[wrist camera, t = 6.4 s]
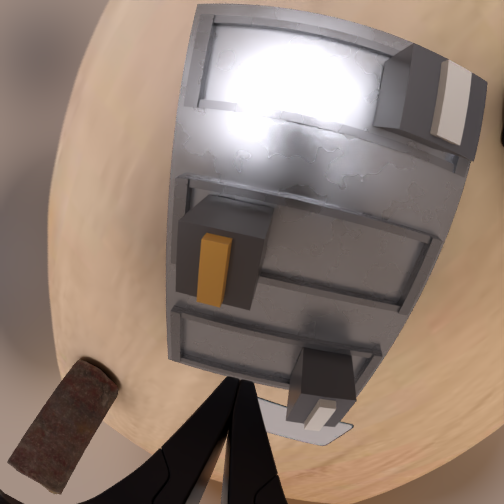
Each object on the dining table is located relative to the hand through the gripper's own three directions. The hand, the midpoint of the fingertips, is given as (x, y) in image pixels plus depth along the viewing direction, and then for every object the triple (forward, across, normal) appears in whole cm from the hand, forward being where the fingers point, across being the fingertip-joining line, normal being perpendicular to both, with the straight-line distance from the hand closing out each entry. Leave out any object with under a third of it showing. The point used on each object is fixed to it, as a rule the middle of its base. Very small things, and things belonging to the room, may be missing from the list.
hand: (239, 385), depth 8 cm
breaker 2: (+10, -6, -10) cm, 16 cm away
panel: (+12, -2, 0) cm, 13 cm away
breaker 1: (+10, -6, +10) cm, 15 cm away
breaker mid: (+10, +2, -1) cm, 11 cm away
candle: (+13, +19, +25) cm, 34 cm away
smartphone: (+13, -7, +24) cm, 28 cm away
